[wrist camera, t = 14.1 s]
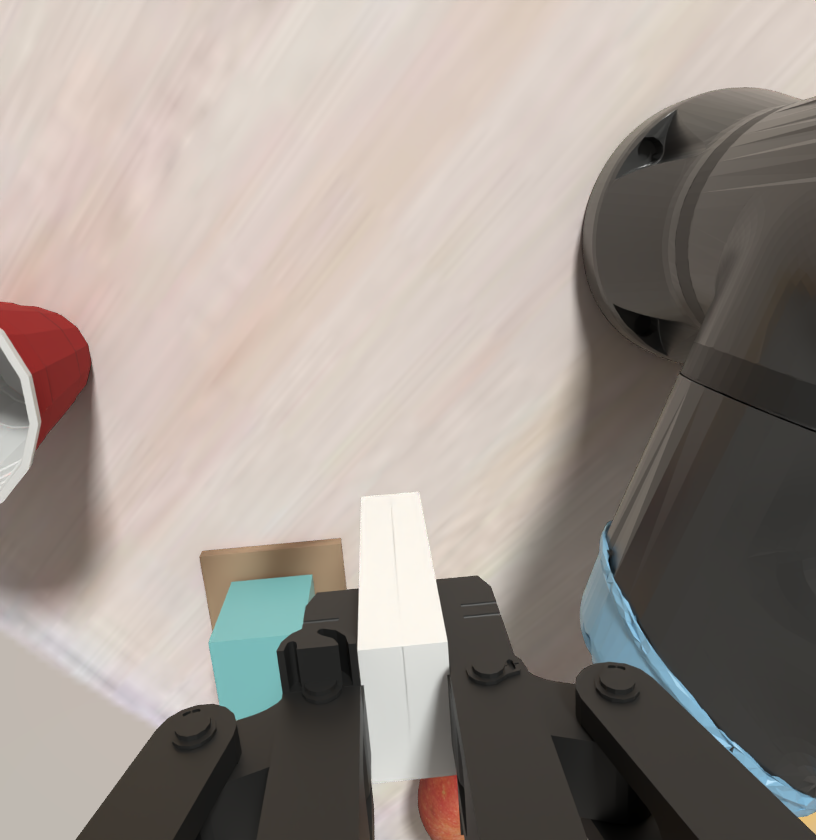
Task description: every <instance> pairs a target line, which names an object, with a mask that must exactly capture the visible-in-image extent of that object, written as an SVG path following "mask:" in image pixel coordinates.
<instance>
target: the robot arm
mask: <svg viewBox="0 0 816 840" xmlns="http://www.w3.org/2000/svg"><path fill="white" fill-rule="evenodd" d="M582 247H583V260H584V267H585V272H586V276H587V280H588V283H589V286H590V289H591V292H592V294H593V296H594V298H595V300H596V302H597V304H598V306H599V308H600V309H601V311H602V312H603V314H604V315H605V317H606V318H607V319H608V321H609V322H610V323H611V324H612V325H613V326H614V327H615V328H616V329H617V330H618V331H619V332H620V333H621V334H622V335H623V336H625V337H626V338H627V339H628V340H630V341H631V342H633V343H634V344H636V345H638V346H640V347H641V348H643V349H645V350H648V351H650V352H652V353H654V354H657V355H659V356H661V357H663V358H666V359H669V360H672V361H676V362H679V363H684V366H683V368H682V370H681V373H679V376H678V378H677V380H676V382H675V384H674V387H673V389H672V391H671V393H670V395H669V398H668V400H667V402H666V404H665V406H664V409H663V411H662V413H661V415H660V417H659V420H658V422H657V424H656V426H655V428H654V431H653V433H652V435H651V437H650V440H649V442H648V444H647V446H646V448H645V451H644V453H643V455H642V457H641V459H640V462H639V464H638V466H637V468H636V470H635V473H634V475H633V477H632V479H631V481H630V484H629V486H628V488H627V490H626V492H625V495H624V497H623V499H622V501H621V503H620V506H619V508H618V510H617V512H616V514H615V517H614V519H613V520H612V521H609V522H608V523H607V524H606V526H605V528H604V529H603V532H602V534H601V538H600V547H599V554H598V556H597V559H596V562H595V564H594V567H593V570H592V572H591V575H590V577H589V580H588V583H587V585H586V588H585V590H584V593H583V596H582V600H581V606H580V625H581V631H582V635H583V638H584V641H585V644H586V647H587V648H588V650H589V652H590V653H591V655H592V662H593V665H591V666H589V667H586V668H584V669H583V670H582V671H581V672H580V673H579V675H578V676H577V677H576V684H570V683H562V682H555V681H550V680H546V679H543V678H540V677H537V676H535V675H533V674H531V673H530V672H528V670H527V668H526V666H525V665H524V663H523V662H522V660H521V659H519V658H518V657H516V656H515V655H514V653H513V650H512V647H511V644H510V641H509V638H508V635H507V632H506V629H505V626H504V623H503V620H502V618H501V615H500V612H499V609H498V606H497V604H496V600H495V597H494V594H493V591H492V588H491V586H489V585H488V584H487V583H486V582H485V581H483V580H482V579H481V578H480V577H479V576H468V577H458V578H447V579H437V580H436V578H435V573H434V568H433V563H432V557H431V552H430V547H429V542H428V536H427V531H426V526H425V521H424V515H423V510H422V505H421V500H420V495H419V492H409V493H398V494H387V495H376V496H365V497H361V525H360V566H359V589H349V590H339V591H328V592H318V593H316V594H315V596H314V597H313V598H312V599H311V600H310V602H309V603H308V604H307V605H306V606H305V612H304V618H303V625H302V629H300V630H298V631H296V632H294V633H292V634H290V635H289V636H288V637H287V638H285V639H284V640H283V641H282V642H281V643H280V645H279V647H278V649H277V651H276V653H277V659H278V666H279V673H280V680H281V686H282V693H283V694H282V699H281V700H280V701H279V702H278V703H276V704H275V705H273V706H272V707H270V708H268V709H267V710H264V711H262V712H260V713H257V714H255V715H252V716H249V717H246V718H243V719H240V720H237V721H236V719H235V715H234V713H233V712H231V711H230V710H229V709H228V708H226V707H224V706H220V705H215V704H206V705H196V706H193V707H190V708H187V709H184V710H181V711H180V712H178V713H176V714H175V715H173V716H171V717H169V718H168V719H167V720H166V721H165V722H164V723H163V724H162V725H161V726H160V727H159V728H158V729H157V730H156V731H155V732H154V734H153V735H152V737H151V738H150V739H149V740H148V742H147V743H146V744H145V746H144V747H143V749H142V750H141V751H140V753H139V754H138V755H137V757H136V758H135V759H134V761H133V762H132V764H131V765H130V766H129V768H128V769H127V770H126V772H125V773H124V775H123V776H122V777H121V779H120V780H119V781H118V783H117V784H116V785H115V787H114V788H113V790H112V791H111V792H110V794H109V795H108V796H107V798H106V799H105V801H104V802H103V803H102V805H101V806H100V807H99V809H98V810H97V811H96V813H95V814H94V815H93V817H92V818H91V819H90V821H89V822H88V824H87V825H86V827H85V828H84V829H83V830H82V832H81V833H80V835H79V836H78V837H77V839H76V840H374V804H373V795H372V786H371V779H372V784H376V783H386V782H395V781H405V780H414V779H424V778H433V777H443V776H452V775H456V773H457V785H458V801H459V816H460V831H461V835H464V839H465V840H816V835H815V834H814V833H813V832H812V831H811V830H810V829H809V828H808V827H807V826H806V825H805V824H804V823H803V822H802V821H801V820H800V819H799V818H798V817H804V816H808V815H810V814H812V813H814V812H816V97H812V98H809V99H805V100H801V99H798V98H795V97H792V96H789V95H786V94H782V93H779V92H776V91H772V90H767V89H761V88H748V87H743V88H727V89H719V90H714V91H710V92H706V93H703V94H700V95H697V96H694V97H691V98H689V99H686V100H684V101H681V102H678V103H676V104H674V105H672V106H669V107H667V108H665V109H663V110H662V111H660V112H658V113H656V114H655V115H653V116H652V117H650V118H649V119H647V120H646V121H645V122H643V123H642V124H641V125H639V126H638V127H637V128H636V129H635V130H634V131H632V132H631V133H630V134H629V135H628V136H627V137H626V138H625V139H624V141H623V142H622V143H621V144H620V145H619V146H618V147H617V149H616V150H615V151H614V153H613V154H612V155H611V157H610V158H609V160H608V161H607V163H606V164H605V166H604V168H603V169H602V171H601V173H600V175H599V177H598V179H597V181H596V183H595V186H594V188H593V191H592V193H591V196H590V199H589V202H588V206H587V210H586V214H585V220H584V227H583V241H582ZM587 838H588V839H587Z"/></svg>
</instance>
